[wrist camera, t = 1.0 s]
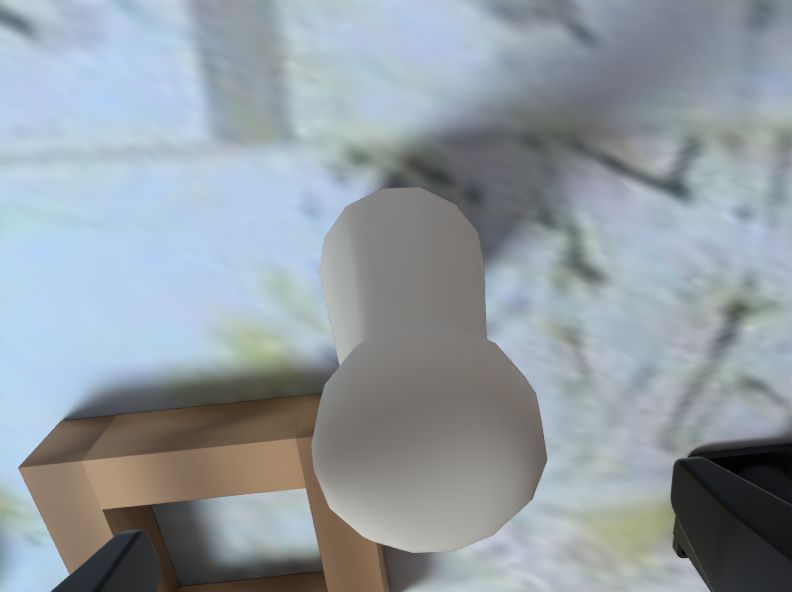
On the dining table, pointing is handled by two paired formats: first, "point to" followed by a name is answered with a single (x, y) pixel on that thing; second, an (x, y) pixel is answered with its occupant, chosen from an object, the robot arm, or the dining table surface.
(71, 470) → the frame
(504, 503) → the salt shaker
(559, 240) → the dining table surface
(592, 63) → the dining table surface
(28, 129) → the dining table surface
